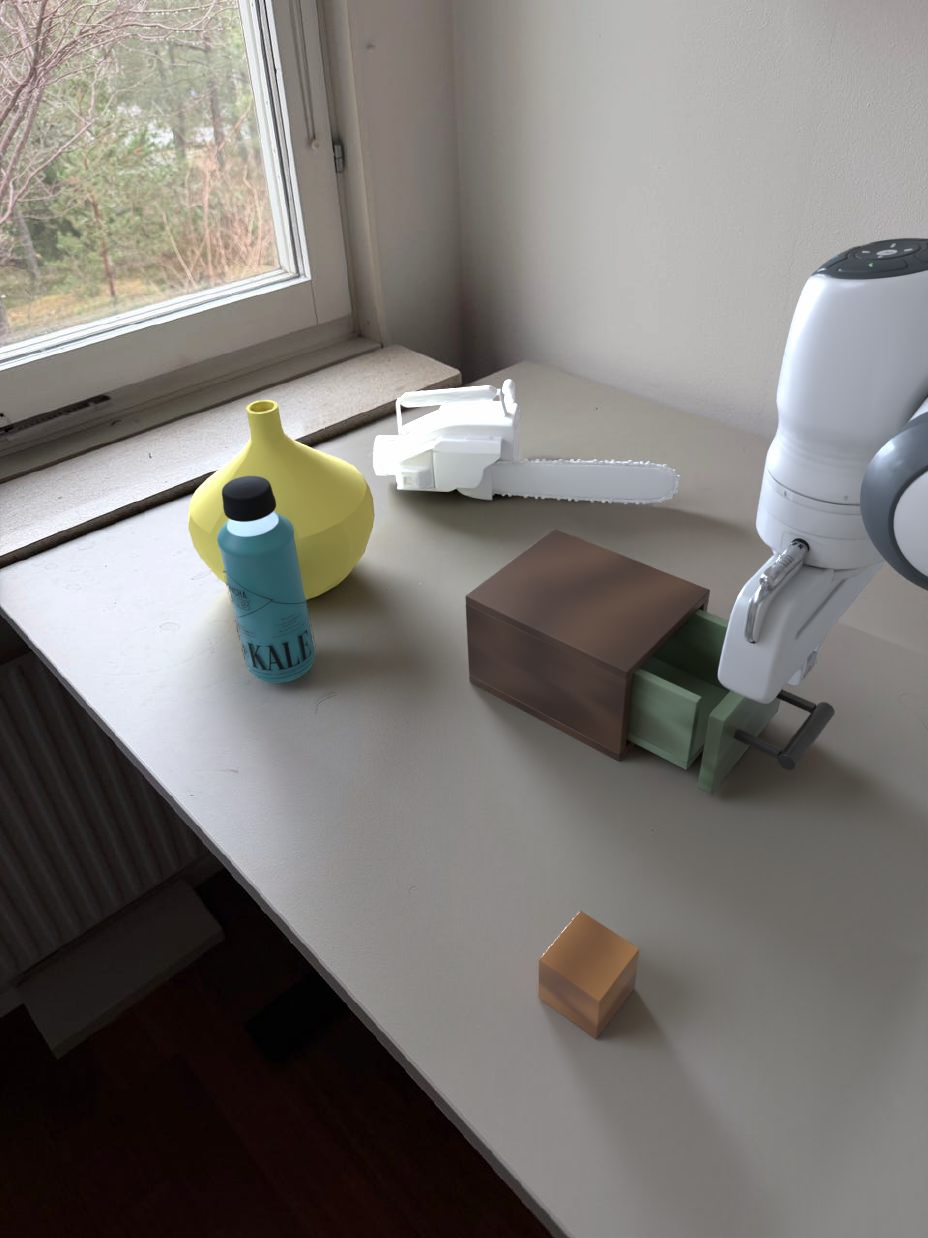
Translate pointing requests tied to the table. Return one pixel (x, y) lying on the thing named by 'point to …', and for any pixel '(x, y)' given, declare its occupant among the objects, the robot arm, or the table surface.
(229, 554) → the beverage bottle
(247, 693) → the table surface
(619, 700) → the cabinet
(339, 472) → the vase
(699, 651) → the drawer
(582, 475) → the chainsaw
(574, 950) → the block
